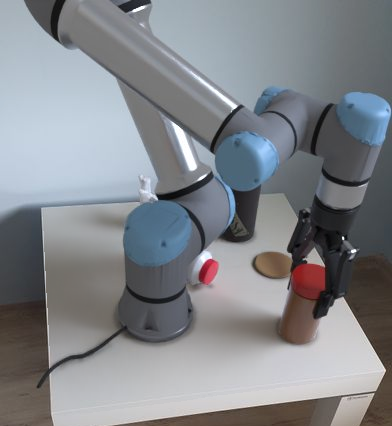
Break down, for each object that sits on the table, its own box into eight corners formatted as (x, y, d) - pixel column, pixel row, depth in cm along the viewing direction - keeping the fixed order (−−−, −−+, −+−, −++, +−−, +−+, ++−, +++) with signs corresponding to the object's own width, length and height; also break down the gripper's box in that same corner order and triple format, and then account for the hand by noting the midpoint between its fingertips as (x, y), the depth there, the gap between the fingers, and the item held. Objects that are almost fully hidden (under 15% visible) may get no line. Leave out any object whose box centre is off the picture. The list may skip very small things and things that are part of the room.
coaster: (273, 283, 116) (273, 281, 116) (247, 261, 121) (247, 259, 120) (302, 270, 120) (302, 268, 120) (276, 249, 125) (276, 247, 124)
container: (212, 225, 129) (221, 147, 115) (244, 219, 132) (257, 143, 117) (227, 245, 124) (238, 166, 109) (260, 239, 127) (276, 161, 112)
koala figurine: (129, 218, 128) (128, 174, 119) (155, 213, 130) (155, 169, 122) (141, 238, 123) (141, 193, 114) (168, 233, 126) (169, 188, 117)
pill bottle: (173, 267, 120) (213, 287, 116) (155, 270, 113) (197, 292, 109) (184, 235, 117) (225, 255, 113) (166, 236, 110) (209, 257, 106)
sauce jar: (296, 349, 104) (312, 299, 93) (270, 326, 107) (284, 275, 97) (323, 334, 107) (341, 284, 97) (297, 312, 111) (313, 261, 101)
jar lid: (341, 292, 97) (344, 284, 96) (306, 304, 94) (308, 296, 93) (315, 266, 102) (318, 259, 100) (281, 277, 99) (283, 269, 97)
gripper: (399, 228, 80) (355, 331, 97) (318, 163, 91) (291, 265, 108) (361, 240, 77) (323, 344, 94) (282, 171, 89) (261, 274, 106)
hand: (306, 301), depth 101 cm, fingers closed on jar lid, 8 cm apart
